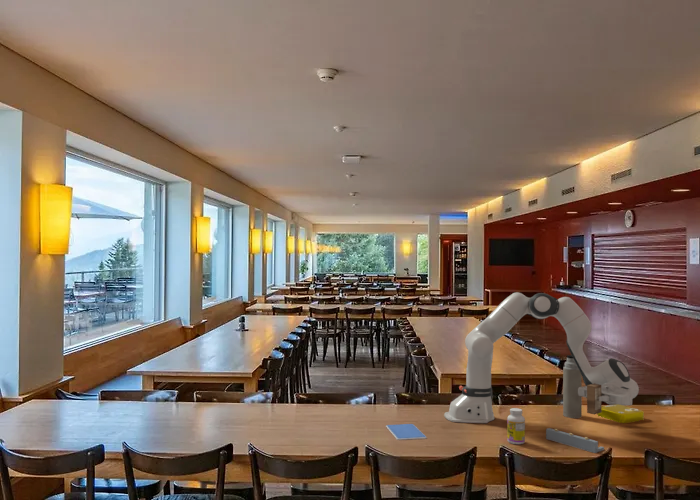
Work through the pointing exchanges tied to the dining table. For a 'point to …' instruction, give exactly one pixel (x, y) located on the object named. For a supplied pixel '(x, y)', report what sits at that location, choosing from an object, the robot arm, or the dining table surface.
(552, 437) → the rail
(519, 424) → the supplement bottle
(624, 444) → the dining table surface
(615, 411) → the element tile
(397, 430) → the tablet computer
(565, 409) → the thermos bottle
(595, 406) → the brown rectangular box
